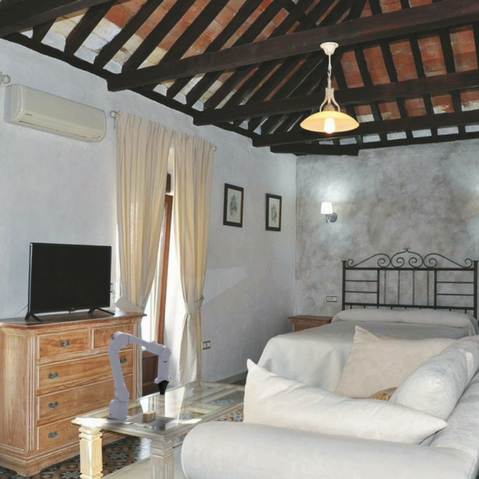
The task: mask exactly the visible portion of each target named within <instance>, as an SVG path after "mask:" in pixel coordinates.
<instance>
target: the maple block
mask: <svg viewBox="0 0 479 479" xmlns="http://www.w3.org/2000/svg"><path fill="white" fill-rule="evenodd" d="M156 415H157V411H156V410H152V409H151V410H147V411H145V412H143V415H142V421H148V422H149V421H151V420H153V419H155V418H156Z"/></svg>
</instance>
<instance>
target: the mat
mask: <svg viewBox="0 0 479 479" xmlns="http://www.w3.org/2000/svg"><path fill="white" fill-rule="evenodd" d="M143 413H144V412H143ZM143 413H140V414H138V415H136V416H133V417H130V418H129V419H128V418H127V420H126V419H125V420H124V422H125V423H126V422H127V423H133V424H140V425H144V426H152V427H157V428H158V427H159V428H160V427H162V426H164V425H165V424H167V423H170V422H171V421H174V420H176V419H177V418H176V417H171V416H170V417H169V416H165V415H157V414H156V418H155V419H153V420H151V421H149V422H148V421H142V415H143Z"/></svg>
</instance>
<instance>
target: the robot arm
mask: <svg viewBox="0 0 479 479" xmlns="http://www.w3.org/2000/svg"><path fill="white" fill-rule="evenodd" d="M132 343H133V344H136V345H138V346H141V347H143V348H145V350H146V352H149V353H152V354H153V355H156V356H158V364H157V377H156V378H155V379H154V384H156V385H157V388H158V391H159V395H160V396H164V395H165V393H166V390H167V388H168V385H169V383H170V380H171V379H172V375H170V374H169V371H170V357H171V355H172V352H171V349H170V348H169V347H167V346H165V345H164V344H163V343H161V344H160V343H158V342H157V341H156V340H154V339H153V340H149V341H146V340H144V339H142V338H140V337H137V336H135V335H133V334H130V333H127V332H122V331H119V330H117V331H115V332H114V333H113V334H112V335H111V336H110V341H109V344H108V347H107V354H108V358H109V359H108V360H109V363H110V368H111V372H112V377H113V383H114V384H113V387H114V388H113V389H114V390H113V395H114V399H111V400H110V401H109V404H108V416H107V418H108V419H115V420H122V421H125V420H126V419H128V418H129V419H130V418H132V416H131V415H129V399H130V390H128V388H127V385H126V382H125V379H124V375H123V370H122V369H123V368H122V365H121V360H120V355H119V351H120V350H121V349H122V348H123V347H125V346H127V344H132Z"/></svg>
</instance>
